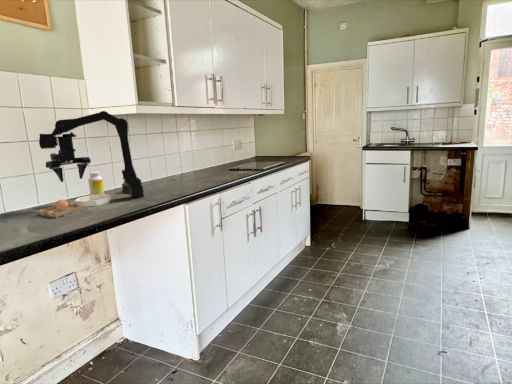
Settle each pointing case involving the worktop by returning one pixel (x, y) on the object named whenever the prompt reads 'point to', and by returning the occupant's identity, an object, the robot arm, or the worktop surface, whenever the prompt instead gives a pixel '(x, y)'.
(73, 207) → the tray
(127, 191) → the pottery mug
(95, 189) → the supplement bottle
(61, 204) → the ball
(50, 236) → the worktop surface
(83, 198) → the bowl
